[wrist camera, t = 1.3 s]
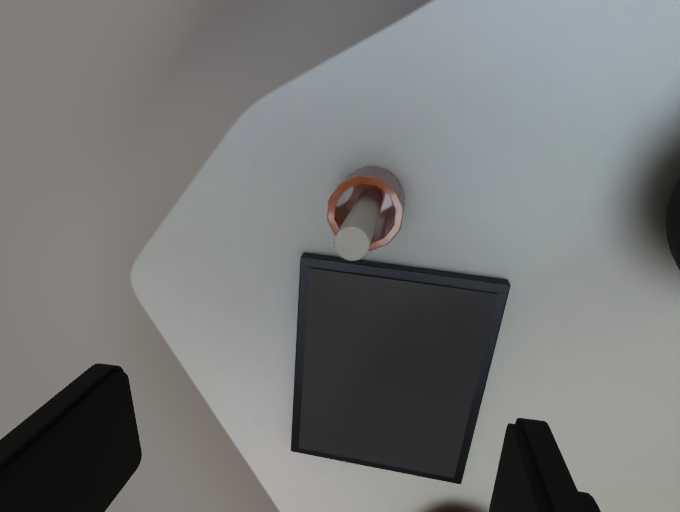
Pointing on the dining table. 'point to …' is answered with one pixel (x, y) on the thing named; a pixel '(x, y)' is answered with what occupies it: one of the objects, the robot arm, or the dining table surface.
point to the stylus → (359, 227)
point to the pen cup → (359, 183)
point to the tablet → (392, 363)
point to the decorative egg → (674, 223)
